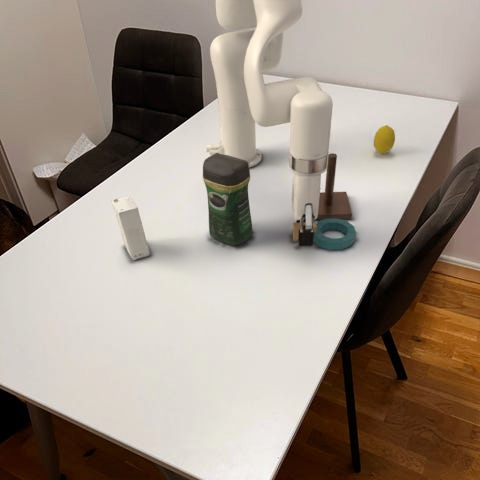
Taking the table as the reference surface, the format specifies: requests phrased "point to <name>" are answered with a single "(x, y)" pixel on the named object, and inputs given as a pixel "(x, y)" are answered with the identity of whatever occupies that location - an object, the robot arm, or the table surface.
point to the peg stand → (333, 196)
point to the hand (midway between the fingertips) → (304, 235)
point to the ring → (326, 241)
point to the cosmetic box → (131, 227)
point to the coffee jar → (228, 198)
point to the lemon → (384, 139)
